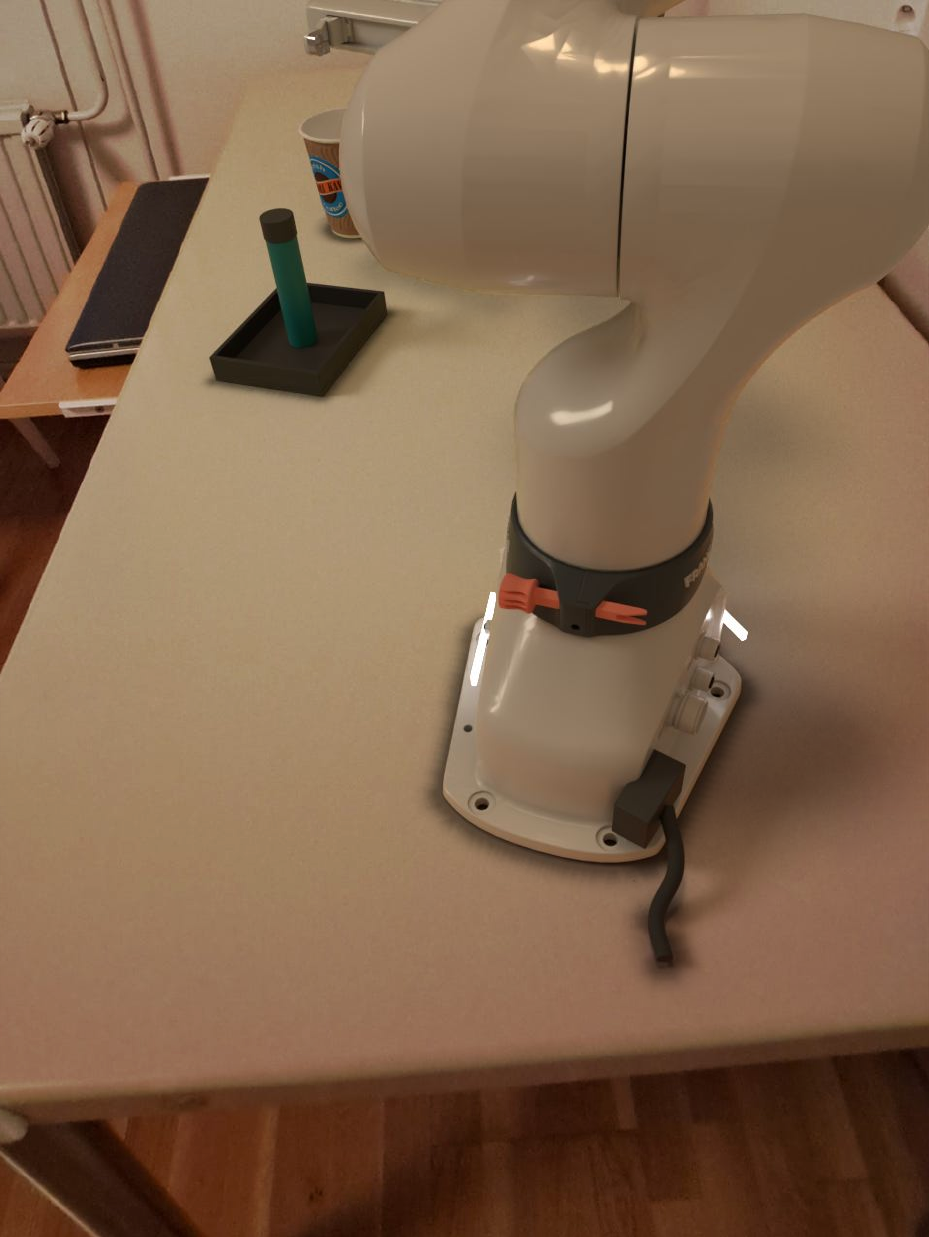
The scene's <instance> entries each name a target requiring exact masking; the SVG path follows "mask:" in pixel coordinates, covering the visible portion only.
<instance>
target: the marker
mask: <svg viewBox="0 0 929 1237" xmlns="http://www.w3.org/2000/svg"><path fill="white" fill-rule="evenodd" d="M258 218H259V223H260V227H261V232H262V236H263V240H264V241H265V245H266V249H267V252H268V257H269V258H268V259H269V262H270V267H271V270H272V275H273V279H274V283H275V289H276V288H277V292H278V296H279V301H280V305H281V309H282V314H283V318H284V322H285V327H286V331H287V335H288V340H289V343H290V345H291V346H293V347H297V348H303V347H308V346H311V345H313V344H314V343H316V342H317V340H318V336H317V331H316V326H315V321H314V316H313V311H312V306H311V302H310V297H309V292H308V287H307V283H308V282H307V278H306V274H305V267H304V262H303V258H302V254H301V249H300V244H299V239H298V229H297V223H296V218H295V214H294V211H293V210H291V209H289V208H285V207H276V208H272V209H268V210H265V211H264V212H262V213H261V214H260V215H259V217H258Z"/></svg>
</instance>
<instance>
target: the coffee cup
mask: <svg viewBox="0 0 929 1237" xmlns="http://www.w3.org/2000/svg"><path fill="white" fill-rule="evenodd" d="M346 108H347V106H342V107H336V108H331V109H326V110H322V111H319V112H317V113H315V114H312V115H310V116H308V117H307V118H305V119H304V120H303V121H302V122H301V123H300V124H299V126H298V134H299V135H300V136H301V137H302V138H303V142H304V146H305V149H306V153H307V156H308V160H309V164H310V166H311V171H312V174H313V177H314V181H315V184H316V188H317V191H318V195H319V200H320V203H321V205H322V208H323V210H324V213H325V216H326V219H327V222H328V223H329V226H330V228H331V231H332V232H333V234H335V235H336V236H338V237H341V238H344V239H362V238H361V237H360V235H359V233H358V231H357V229H356V228H355V225H354V223H353V221H352V218H351V216H350V213H349V211H348V208H347V205H346V201H345V197H344V193H343V189H342V184H341V178H340V168H339V145H340V135H341V129H342V123H343V118H344V114H345V111H346Z"/></svg>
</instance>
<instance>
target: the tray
mask: <svg viewBox="0 0 929 1237" xmlns="http://www.w3.org/2000/svg"><path fill="white" fill-rule="evenodd" d="M307 287H308V292H309V297H310V302H311V306H312V311H313V316H314V321H315V326H316V331H317V336H318V340H317V342H316V343H314V344H313V345H311V346H308V347H303V348H297V347H293V346H291V345H290V343H289V340H288V335H287V331H286V327H285V322H284V318H283V314H282V309H281V305H280V301H279V296H278V292H277V288H276V287H275V289H274V290H273V291H272V292H271V293H270V294H269V295H268V296H267V297H266V298H264V300H263V301H262V302H261V303H260V304H259V305H258V306H257V307H255V308H256V309H254V310H253V311H252V312H251V313H250V314H249V315H248V316H247V318H246V319H244V320H243V322H242V323H241V324H240V325H239V326H237V328H236V329H235V330H234V331H233V332H232V333H230V335H229V336H228V337H227V338H226V339H225V341H223V342H222V344H221V345H220V346H219V347H217V348H216V350H214V351H213V352H212V354H211V355H210V356H209V357H208V358H209V362H210V365H211V368H212V372H213V375H214V379H215V380H216V381H220V382H227V383H233V384H240V385H246V386H252V387H259V388H265V389H271V390H278V391H285V392H290V393H291V392H292V393H298V394H305V395H311V396H317V397H324V396H325V394H326V393H327V392H328V391H329V389H330V388H331V386H332V385H333V384H334V383H335V381H336V380H338V377H339V376H340V375H341V374H342V372H343V371H344V370H345V368H347V366H348V365H349V363H351V361H352V360H353V358H354V357H355V356H356V355H357V353H358V352H359V351H360V349H361V348H362V347H363V346H364V344H365V343H366V342H367V341H368V339H369V338H370V337H371V335H372V334H373V333H374V332H375V331H376V329H377V328H378V327H379V325H380V324H381V323H382V322H383V320H384V319H385V318H386V316H387V315H388V308H387V302H386V301H387V300H386V295H385V293H386V292H385V291H384V290H374V289H366V288H356V287H348V286H339V285H331V284H324V283H323V284H322V283H313V282H307Z"/></svg>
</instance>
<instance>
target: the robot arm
mask: <svg viewBox="0 0 929 1237" xmlns="http://www.w3.org/2000/svg"><path fill="white" fill-rule="evenodd" d="M685 1H686V0H309V1H308V2H307V4H306V6H305V14H306V22H307V27H308V31H306V32H305V33H304V34H303V37H302V41H303V45H304V52H305V54H306V55H308V56H314V57H323V56H325V55H327V54H330V53H331V49H335V50H341V51H346V52H351V53H359V54H364V55H369V56H372V57H371V59H370V60H369V61H368V63H367V64H366V66H365V67H364V68H363V70H362V72H361V74H360V75H359V77H358V79H357V81H356V83H355V84H354V87H353V89H352V92H351V93H350V95H349V98H348V101H347V105H346V107H347V108H346V111H345V114H344V118H343V123H342V129H341V135H340V145H339V168H340V178H341V184H342V189H343V193H344V197H345V201H346V205H347V208H348V211H349V213H350V216H351V218H352V221H353V223H354V225H355V228H356V229H357V231H358V233H359V235H360V237H361V238H360V239H361V240H362V242H363V244H364V245H365V246H366V248H367V249H368V250H369V252H370V254H372V256H373V257H374V259H375V260H376V261H377V262H378V263H379V264H380V265H381V266H382V267H383V268H384V269H385V270H386V271H388V272H389V273H392V274H394V275H398V276H402V277H405V278H406V277H407V278H410V279H414V280H418V281H420V282H425V283H429V284H432V285H437V286H442V287H446V288H451V289H455V290H459V291H460V290H461V291H465V292H469V293H473V294H478V295H500V296H501V295H503V296H505V295H507V296H543V297H544V296H546V297H548V296H549V297H550V296H551V297H586V298H587V297H588V298H619V299H620V301H627V302H629V303H628V304H627V305H626V306H624V308H622V309H621V310H620V311H618V312H617V313H616V314H614V315H612V316H611V317H609V318H607V319H605V320H603V321H601V322H599V323H596V324H595V325H592V326H590V327H588V328H585V329H584V330H581V331H579V332H577V333H574V334H573V335H571V336H569V337H567V338H565V339H564V340H562V341H561V342H559V343H558V344H557V345H556V346H554V347H553V348H552V349H550V350H549V351H548V352H547V353H546V354H545V355H544V356H542V358H541V359H540V360H538V362H536V364H535V365H534V366H533V367H532V368H531V369H530V371H529V372H528V373H527V374H526V376H525V378H524V379H523V382H522V383H521V385H520V387H519V390H518V392H517V394H516V397H515V400H514V401H515V402H514V405H513V412H512V418H513V419H512V422H513V423H512V424H513V425H512V426H513V447H514V448H513V450H514V472H515V473H514V474H515V492H514V494H513V497H512V500H511V505H510V506H511V507H510V511H509V512H510V513H509V517H508V522H507V528H506V539H505V540H506V542H505V546H502V547H500V549H499V560H500V561H499V562H500V572H499V577H498V582H497V586H496V592H492V591H490V594H489V598H488V602H487V606H486V611H485V615H484V616H483V617H481V618H479V619H478V620H477V621H476V622H475V623H474V626H473V630H472V635H471V640H470V645H469V649H468V655H467V659H466V665H465V670H464V674H463V680H462V683H461V684H462V685H461V690H460V695H459V700H458V705H457V709H456V715H455V719H454V725H453V729H452V734H451V739H450V744H449V748H448V749H449V750H448V755H447V760H446V764H445V769H444V776H443V781H442V782H443V783H442V794H443V797H444V799H445V800H446V801H447V802H448V804H449V805H450V806H451V807H452V808H453V809H454V810H455V811H456V812H457V813H458V814H459V815H460V816H462V817H463V818H464V819H465V820H467V821H468V822H470V824H471V823H472V824H473V825H475V826H476V827H478V829H481V830H483V831H485V832H487V833H489V834H491V835H493V836H495V837H498V838H500V839H503V840H505V841H507V842H510V843H511V844H515V845H519V846H521V847H525V848H527V849H530V850H533V851H536V852H541V853H544V854H549V855H552V856H557V857H561V858H566V859H572V860H578V861H583V862H594V863H624V862H626V863H627V862H633V861H639V860H644V859H647V858H651V857H654V856H656V855H657V854H659V853H660V851H661V850H662V848H663V847H664V845H665V844H666V848H667V849H666V850H667V867H666V872H665V875H664V877H663V880H662V881H661V883H660V886H659V887H658V889H657V890H656V892H655V894H654V896H653V897H652V900H651V903H650V905H649V909H648V916H647V929H648V936H649V938H650V942H651V945H652V949H653V951H654V955H655V960H656V962H659V963H667V962H671V961H673V959H674V956H673V955H674V954H673V951H672V947H671V944H670V942H669V939H668V936H667V932H666V925H665V923H666V916H667V911H668V909H669V907H670V904H671V903H672V900H673V899H674V897H675V895H676V894H677V892H678V890H679V888H680V886H681V883H682V881H683V877H684V874H685V864H686V860H685V858H686V856H685V854H686V853H685V846H684V841H683V836H682V833H681V828H680V825H679V822H678V818H679V817H680V814H681V812H682V810H683V808H684V806H685V804H686V803H687V800H688V798H689V796H690V795H691V793H692V791H693V789H694V786H695V785H696V782H697V781H698V778H699V777H700V774H701V773H702V770H703V769H704V767H705V764H706V763H707V760H708V759H709V756H710V755H711V753H712V751H713V749H714V747H715V745H716V743H717V741H718V740H719V737H720V735H721V733H722V731H723V729H724V728H725V725H726V724H727V721H728V719H729V717H730V715H731V714H732V712H733V709H734V708H735V705H736V704H737V701H738V700H739V698H740V695H741V693H742V677H741V675H740V673H739V671H737V669H736V668H735V667H734V666H733V665H732V664H731V663H729V661H727V660H726V659H725V658H724V657H722V656H721V655H720V654H719V652H720V648H721V645H722V641H721V639H722V632H723V626H724V624H725V625H726V627H727V628H729V629H730V630H731V631H732V632H733V633H734V634H735V635H736V637H738V638H739V639H740V640H741V641H745V640H747V636H748V631H747V630H746V629H745V628H744V627H743V626H742V625H741V624H740V623H739V622H738V621H737V620H736V619H735V618H734V617H733V616H732V615H731V614H730V613H729V612H728V611H727V610H726V604H727V598H728V592H727V591H726V589H724V587H723V584H722V583H721V582H720V581H719V580H718V579H717V577H716V576H715V575H714V574H713V572H712V570H711V569H710V567H709V565H708V562H709V556H710V554H711V552H712V547H713V541H714V540H713V539H714V533H715V531H714V529H715V528H714V509H713V503H712V500H711V497H710V496H711V490H712V484H713V479H714V474H715V470H716V466H717V462H718V458H719V454H720V450H721V445H722V442H723V438H724V436H725V432H726V428H727V426H728V421H729V418H730V416H731V413H732V411H733V409H734V406H735V405H736V403H737V401H738V399H739V398H740V395H741V394H742V392H743V391H744V390H745V388H746V387H747V385H748V384H749V382H750V381H751V379H752V378H753V377H754V376H755V374H756V373H757V372H758V371H759V369H760V368H761V367H762V366H763V365H764V364H765V362H766V361H767V360H769V359H770V357H771V356H772V355H773V354H774V353H775V352H776V351H777V350H778V349H779V348H780V347H781V346H782V345H783V344H784V343H786V341H788V340H789V339H790V338H791V337H792V336H793V335H795V334H796V333H797V332H798V331H799V330H802V328H803V327H804V326H806V325H807V324H808V323H810V322H811V321H812V320H814V319H815V318H817V317H819V316H820V315H821V314H823V313H824V312H826V311H828V310H829V309H830V308H832V307H834V306H836V305H837V304H839V303H840V302H842V301H844V300H846V299H849V298H850V297H852V296H854V295H855V294H858V293H860V292H861V291H864V290H865V289H868V288H870V287H872V286H874V285H876V284H877V283H878V282H880V281H881V280H882V279H884V278H885V277H886V276H887V275H888V274H890V273H891V272H892V271H893V270H894V269H895V268H897V267H896V266H898V265H899V264H900V263H901V262H902V261H903V260H904V259H905V258H906V257H907V256H908V255H909V253H910V252H911V251H912V249H914V247H915V246H916V245H917V243H918V242H919V240H920V239H921V238H922V236H923V235H924V233H925V231H926V230H927V229H928V227H929V48H928V47H927V46H926V44H925V43H924V42H923V41H922V39H921V38H920V37H919V36H916V35H913V34H909V33H905V32H900V31H895V30H890V29H887V28H882V27H878V26H874V25H869V24H865V23H860V22H857V21H856V22H855V21H849V20H846V19H845V20H844V19H839V18H833V17H827V16H822V15H817V14H811V13H805V12H804V13H803V12H802V13H801V12H800V13H797V12H796V13H767V14H765V13H764V14H761V13H760V14H725V15H693V16H692V15H686V16H685V15H684V16H683V15H682V16H664V17H658V16H660V15H661V14H663V13H664V12H665V13H666V12H668V11H669V10H671V9H673V8H674V7H676V6H678V5H680V4H682V3H683V2H685ZM714 695H719V696H718V697H717V696H714ZM480 805H485V806H487V808H485V809H478V807H479V806H480ZM606 840H611V841H614V842H615V844H613V845H609V844H606V843H605V841H606Z"/></svg>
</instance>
